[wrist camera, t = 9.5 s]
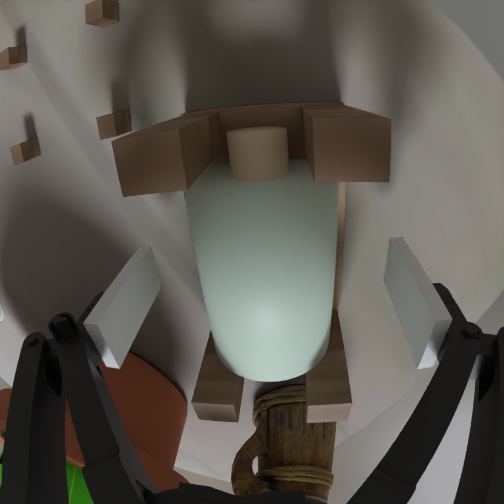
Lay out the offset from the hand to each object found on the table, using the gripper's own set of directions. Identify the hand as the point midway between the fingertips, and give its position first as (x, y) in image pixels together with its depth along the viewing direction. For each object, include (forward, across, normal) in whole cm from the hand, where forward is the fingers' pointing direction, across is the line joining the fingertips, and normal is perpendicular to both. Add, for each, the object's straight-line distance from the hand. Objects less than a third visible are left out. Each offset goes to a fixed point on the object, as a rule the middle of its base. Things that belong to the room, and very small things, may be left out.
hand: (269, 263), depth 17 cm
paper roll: (+3, 0, 0) cm, 3 cm away
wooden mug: (+4, 0, -19) cm, 19 cm away
